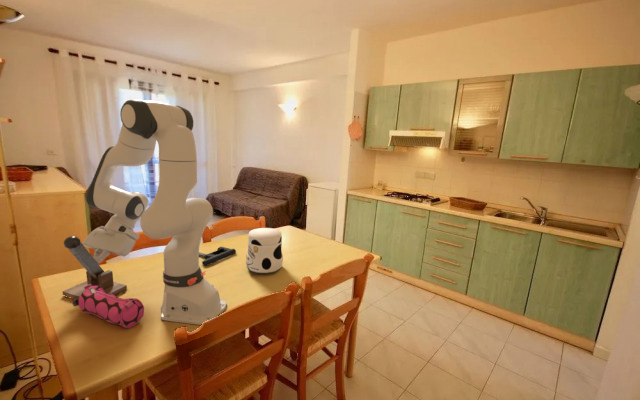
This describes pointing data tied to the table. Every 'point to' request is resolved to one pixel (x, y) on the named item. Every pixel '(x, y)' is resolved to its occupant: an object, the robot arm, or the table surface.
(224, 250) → the door handle
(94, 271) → the lever
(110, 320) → the pencil case
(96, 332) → the table surface
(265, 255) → the milk container
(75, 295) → the press stand
